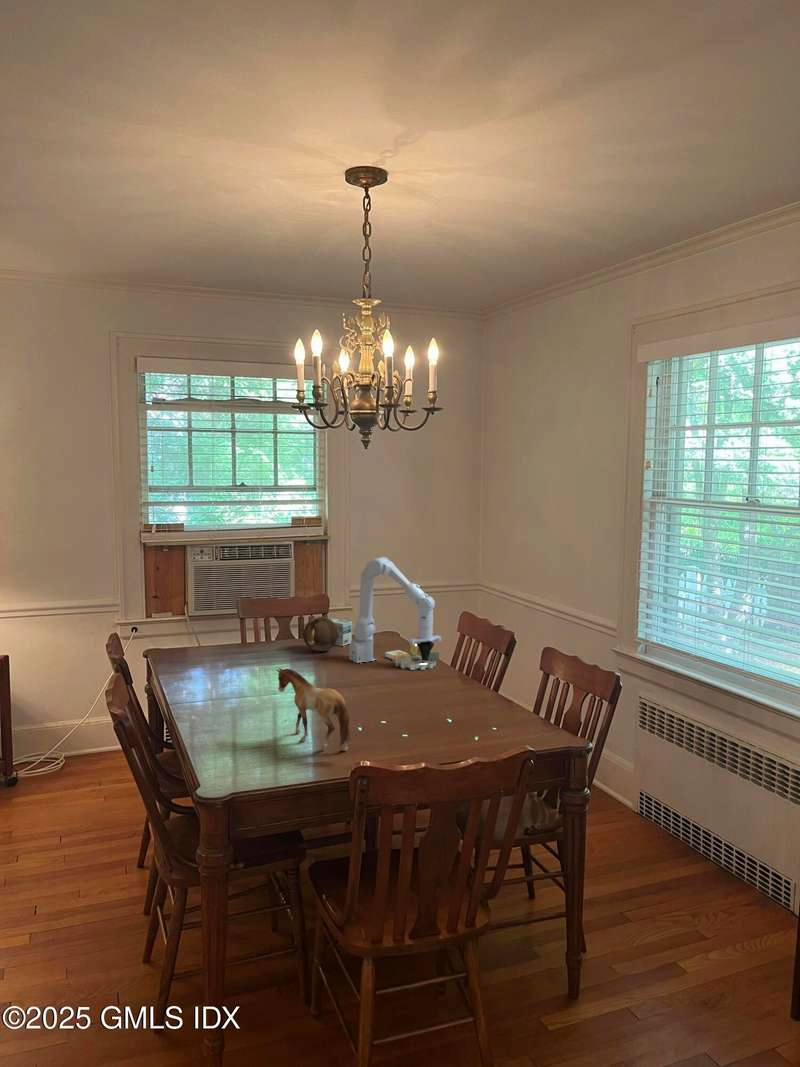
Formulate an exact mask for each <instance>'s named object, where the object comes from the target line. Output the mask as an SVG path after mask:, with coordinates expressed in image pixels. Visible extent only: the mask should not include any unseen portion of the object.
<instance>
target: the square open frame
mask: <svg viewBox="0 0 800 1067" xmlns="http://www.w3.org/2000/svg"><path fill="white" fill-rule="evenodd" d="M406 655H410V653H408V652H405V651H402V650H400V649H398V650H392V651H391V650H390V651H386V652H385V658H386V657H388V658H387V659H389V658H391V659H393V660H392V661H394V660H395V659H396V658H399V656H404V657H405V656H406ZM391 659H390V660H391Z"/></svg>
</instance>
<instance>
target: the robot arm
mask: <svg viewBox="0 0 800 1067" xmlns="http://www.w3.org/2000/svg"><path fill="white" fill-rule="evenodd" d="M380 574H381V576H387V577H390V578H392V579H393V580H394V581H395V582H396V583H397V584H398V585H400V586H401V587H402V588H403V589H404V594H405V596H407V597H408V598H409V599H410V600H411V601H412V602H413V603H414V604H415V605H416V608H417V610H418V636H416V637H415V638H410V639H409V645H414V644H417V645H418V651H420V652H419V653H420V655H421V656H422V660H424V661H427V660H428V657H429V654H430V652H432V651H431V650H432V649H433V647H434V646H435V644H434V642H441V641H442V636H441V635H439V634H438V635H434V631H433V630H434V609H435V606H436V602H435V599H434V597H432V596H431V595H428V593H425V592H424V590H422V589H421V588H420V587H421V586H420V585H419V584H416V583H412V582H411V581H409V579H407V578H406V576H404V574H403V573H402V572H401V571H400V570H399V569H398V567H397V566H396V565H395V564H394V562H392V561H391V560H390V559H389V558H388V557H386V556H380V557H378V558H372V559H370V560H369V561H368V562H366V565H365V567H364V569H363V571H361V574H360V585H359V586H360V592H359V612H358V619H357V620H356V621H355V622H356V623H355V627H354V629H353V636H354V637H355V639H354V640H352V642H351V643H350V645H349V653H348V655H349V657H348V659H350V660H353V661H355V662H357V663H359V662H360V664H362V663H361V662H366V663H368V662H367V661H373V662H375V661H374V660H377V661H378V659H377V658H374V635H375V634H376V630H377V628H376V625H375V618H374V616H373V604H374V603H373V601H374V580H375V579H376V578H377V577H378V576H379V575H380ZM350 660H349V661H350ZM353 661H352V662H353ZM355 662H354V663H355ZM357 663H356V664H357Z"/></svg>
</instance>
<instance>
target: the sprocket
mask: <svg viewBox="0 0 800 1067" xmlns="http://www.w3.org/2000/svg"><path fill="white" fill-rule="evenodd" d="M439 660H440V652H434V651H433V652H432V651H430V654H429V657H428V660H427V661H424V660H422V656H421V654H418V655H416V656H411V655H410V654H409V655H406V656H405V657H404V656H399V658H396V659H395V661H394V663H395V666H396V667H400V668H401V669H405V670H406V669H409V670H413V671H415V670H421V671H422V670H423V671H424V670H426V669H433V668H434V667H436V666H437V661H439Z"/></svg>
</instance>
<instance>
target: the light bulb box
mask: <svg viewBox="0 0 800 1067" xmlns="http://www.w3.org/2000/svg"><path fill="white" fill-rule="evenodd" d="M330 620H332V621H333V622H334V624H335V625H336V627H337V630H338V638H337V641H336V643H335V644H336V645H342V646H344V645H347V644H350V643H351V642H352V641H353V638H352V637H353V636H352V634H353V633H352V630H353V629H352V628H353V627H352V626H353V625H352V624H353V622H352V621H350V620H343V619H338V618H337V619H336V618H331V619H330ZM344 647H345V646H344Z"/></svg>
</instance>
